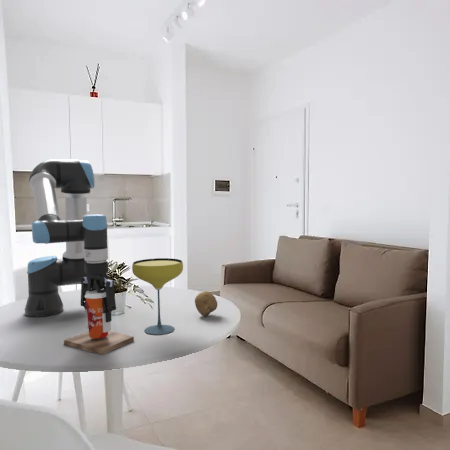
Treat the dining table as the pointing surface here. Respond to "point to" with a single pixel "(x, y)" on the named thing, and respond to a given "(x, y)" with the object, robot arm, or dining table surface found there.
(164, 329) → the cocktail glass
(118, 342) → the walnut board
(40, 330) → the dining table surface
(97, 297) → the coffee cup
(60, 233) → the robot arm
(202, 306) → the natural sponge
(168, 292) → the dining table surface
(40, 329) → the dining table surface
